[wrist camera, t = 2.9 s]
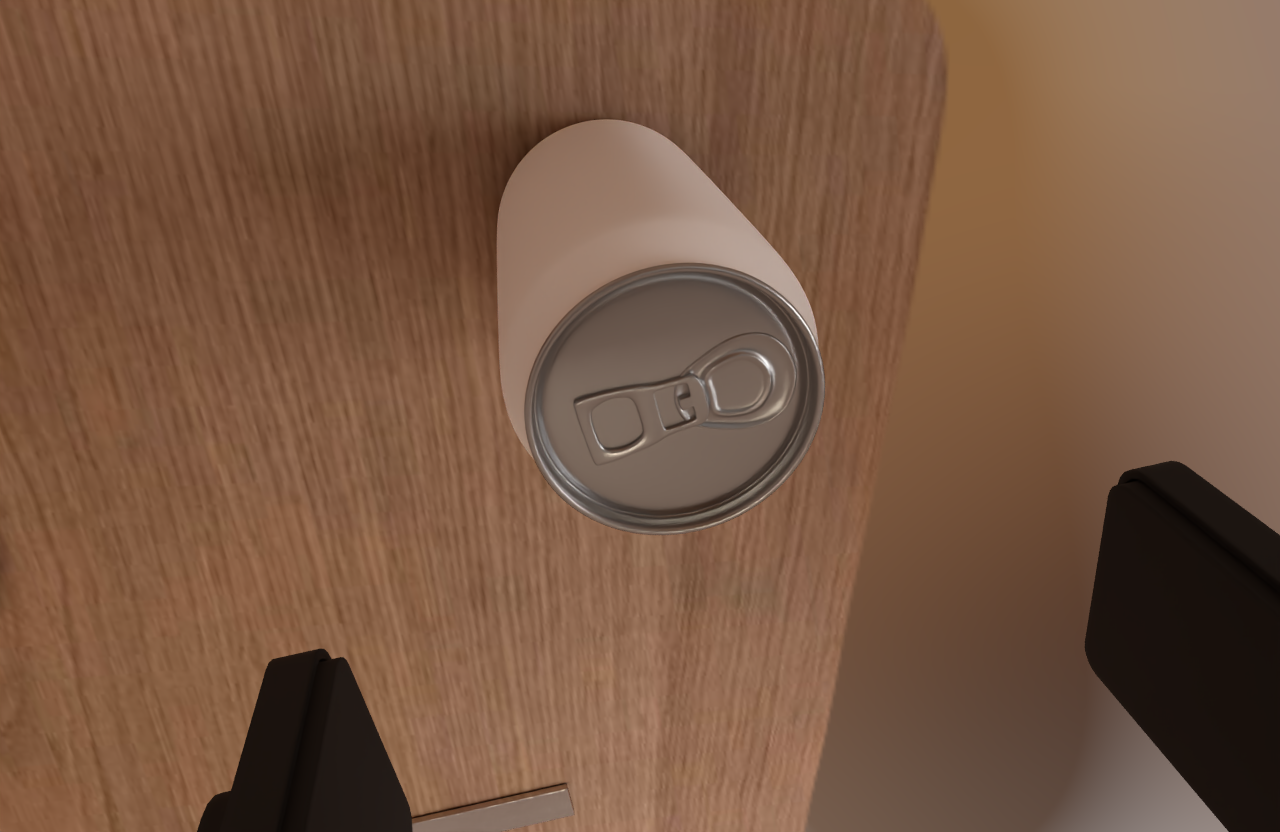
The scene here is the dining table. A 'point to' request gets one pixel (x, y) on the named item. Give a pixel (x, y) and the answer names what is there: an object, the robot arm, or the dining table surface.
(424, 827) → the knife
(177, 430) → the dining table surface
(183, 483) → the dining table surface
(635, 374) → the can
